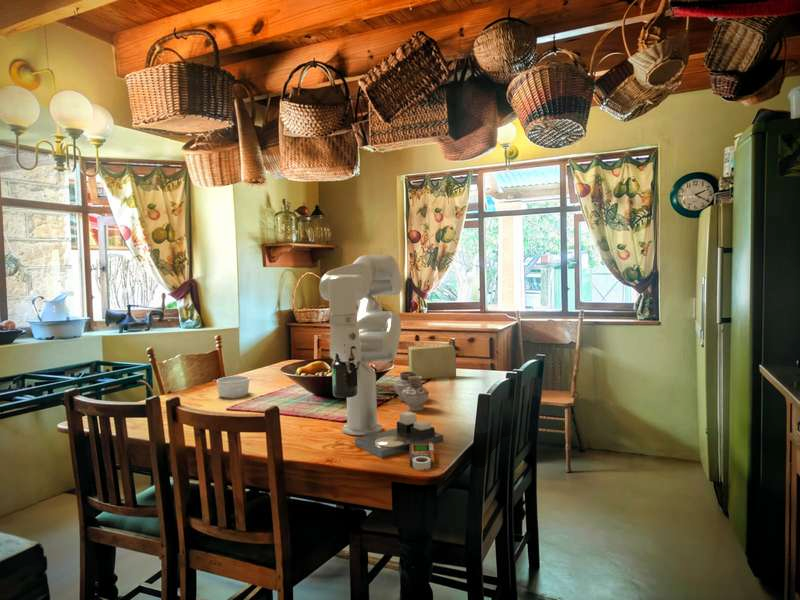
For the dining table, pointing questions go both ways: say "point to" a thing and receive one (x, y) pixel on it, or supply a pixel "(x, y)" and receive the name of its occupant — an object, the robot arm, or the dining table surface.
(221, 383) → the ramekin
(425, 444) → the electronic device
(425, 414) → the dining table surface
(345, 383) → the supplement bottle
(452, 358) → the cheese
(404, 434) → the breaker board
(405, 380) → the pottery
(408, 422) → the block
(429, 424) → the white cube
